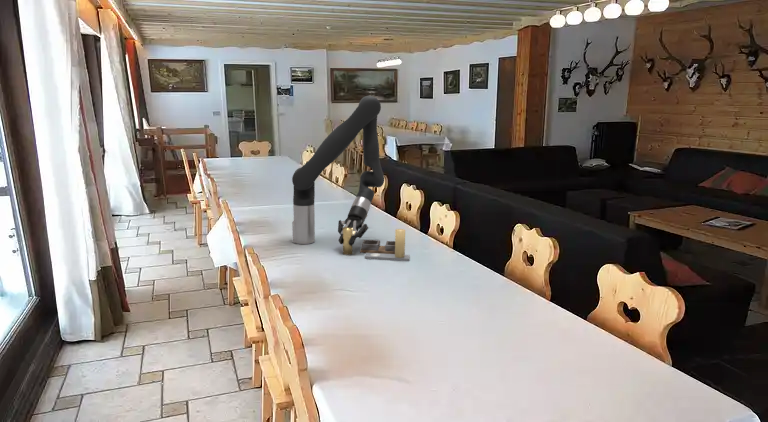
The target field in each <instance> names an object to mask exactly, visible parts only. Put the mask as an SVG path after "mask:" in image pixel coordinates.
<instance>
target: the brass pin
mask: <svg viewBox="0 0 768 422" xmlns="http://www.w3.org/2000/svg"><path fill="white" fill-rule="evenodd" d="M351 236H353V228H352V227H345V226H343V244H342V255H346V256H349V255H350V256H351V255H353V246H354V244H353V245H352V246H350V245H349V241H350V238H351Z"/></svg>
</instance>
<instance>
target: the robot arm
mask: <svg viewBox="0 0 768 422" xmlns="http://www.w3.org/2000/svg"><path fill="white" fill-rule="evenodd" d="M381 104H382V103H381V102H380V100H379V99H378V98H377V97H375V96H373V95H366V96H365V95H364V96H363V97H362V98H361V99H360V100H359V103H358V105H357V107H356V108H355V110H354V111H353V112H352V114H350V116H349V117H348V118H347V119H345V120H344V121H343V122H342V123H340V124H339V125H337V126H336V127H335V128H334V129H333V130H332V131H331V132H330V133H329V134H328V135H327V137H326V138H325V139H324V140H323V141H322V143H321V144H320V145H319V146H318V148H317V149H316V151H315V152H314V153H313V155H312V156H311V158H310V159H309V160H308V161H307V162H306V163H305V164H303V166H301V167H298V168H297V169H296V170H295V171H294V173H293V174H292V177H291V178H292V179H291V181H292V184H293V198H292V202H293V206H292V207H293V209H292V210H293V221H292V223H291V224H292V226H291V227H292V228H291V229H292V243H294V244H298V245H308V244H313V243H315V242H316V239H315V238H316V234H315V232H316V229H315V227H316V223H315V218H316V216H315V214H316V213H315V212H316V211H315V195H316V193H315V189H316V188H315V185H316V183H315V181H316V180H317V179H318V177H319V176H320V175H321V173H323V171H324V170H325V169H327V167H328V166H330V165H331V164H332V163H333V162H334V161H336V159H338V157H340V156H341V154H343V152H344V151H345V150H346V149H347V148H348V147H349V146H350V145H351V143H353V141H354V140H355V139H356V137H357V136H358V135H359V133H360V132H361V131H362V153H363V165H364V166H365V167H368V168H371V170H365V171H363V172H362V173H361V174H360V178H359V187H358V192H357V194H356V196H355V198H354V200H353V202H352V204H351V207H350V209H349V211H348V213H347V217H346V219H345V220H341V219H340V220H338V226H337V227H338V228H337V232H338V233H339V235H340V236H339V238H338V242H339V244H340V245H343V227H352V228H353V236H351V238H350V241H349V245H350V246H352V245H353V246H354V245H355V242H356V240H357V239H358V238H359V239H361V238H362V237H363V236H364V235H365V233H366V232H367V231H368V230H369V226H368V225H367V223H365V220H366V219H367V217H368V215H369V214H368V213H369V212H370V209H371V204H372V202H373V200H374V196H375V191H374V190H373V189H372V188H381V187H382V186H384V184H385V183H384V182H385V174H384V172H383V169H382V165H381V161H380V158H381V157H380V145H379V144H380V143H379V138H378V137H379V136H378V123H377V122H378V115H379V114H380V112H381V109H382V106H381ZM366 216H367V217H366Z"/></svg>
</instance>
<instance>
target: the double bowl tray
mask: <svg viewBox="0 0 768 422" xmlns="http://www.w3.org/2000/svg"><path fill="white" fill-rule="evenodd" d="M359 252H360V253H363V254H366V253H381V254H395V240H386V242H385V244H384V245H381V240H379V239H363V241H362V242H361V247H360V249H359Z"/></svg>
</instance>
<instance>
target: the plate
mask: <svg viewBox="0 0 768 422" xmlns="http://www.w3.org/2000/svg"><path fill="white" fill-rule="evenodd" d="M394 234H395V235H394V236H395V237H394V241H395V254H381V253H365V254H364V259H365V260H377V261H378V260H380V261H397V262H398V261H400V262H401V261H402V262H403V261H405V262H410V257H411V255H410V254H406V253H405V252H406V229H404V228H396V229H395V231H394Z"/></svg>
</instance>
